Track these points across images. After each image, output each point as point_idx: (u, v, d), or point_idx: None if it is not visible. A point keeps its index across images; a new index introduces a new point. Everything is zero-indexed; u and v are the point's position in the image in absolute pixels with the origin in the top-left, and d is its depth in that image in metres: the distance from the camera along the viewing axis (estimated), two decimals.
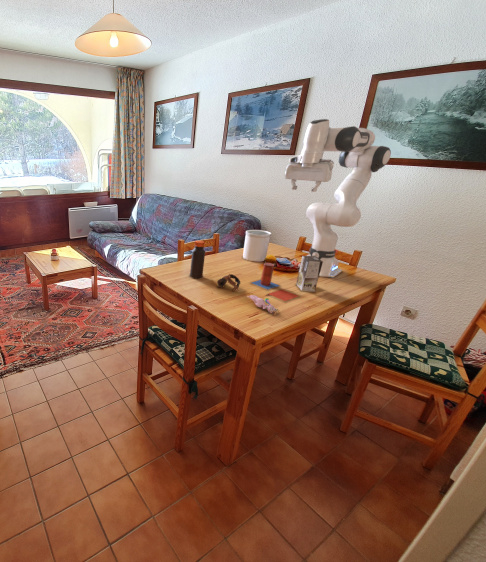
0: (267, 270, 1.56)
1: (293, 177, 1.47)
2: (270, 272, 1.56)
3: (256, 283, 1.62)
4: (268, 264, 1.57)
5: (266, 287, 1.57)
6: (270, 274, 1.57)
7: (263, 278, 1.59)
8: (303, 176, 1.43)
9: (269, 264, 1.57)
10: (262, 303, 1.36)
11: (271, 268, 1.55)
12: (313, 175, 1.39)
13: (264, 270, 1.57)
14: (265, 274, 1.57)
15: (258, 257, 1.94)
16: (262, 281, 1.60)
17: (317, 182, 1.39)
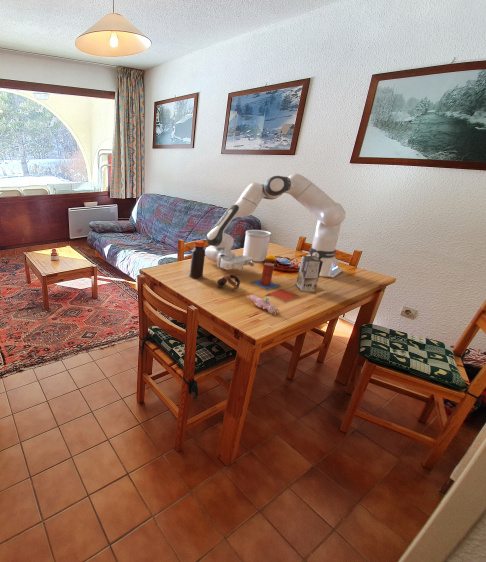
0: (267, 270, 1.56)
1: (233, 261, 1.70)
2: (270, 272, 1.56)
3: (256, 283, 1.62)
4: (268, 264, 1.57)
5: (266, 287, 1.57)
6: (270, 274, 1.57)
7: (263, 278, 1.59)
8: (238, 260, 1.72)
9: (269, 264, 1.57)
10: (262, 303, 1.36)
11: (271, 268, 1.55)
12: (242, 258, 1.75)
13: (264, 270, 1.57)
14: (265, 274, 1.57)
15: (258, 257, 1.94)
16: (262, 281, 1.60)
17: (249, 260, 1.74)
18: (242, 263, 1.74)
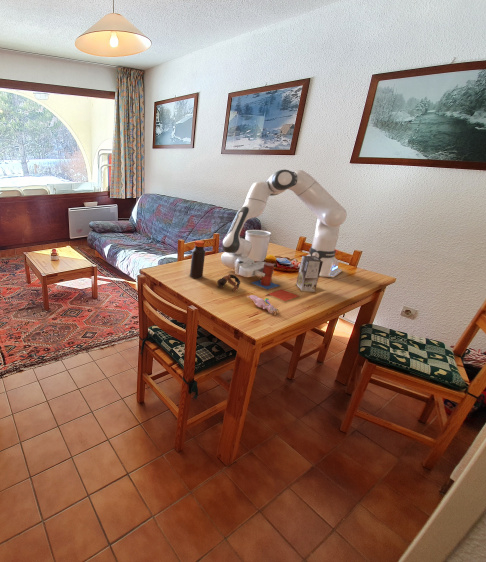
0: (267, 270, 1.56)
1: (253, 269, 1.60)
2: (270, 272, 1.56)
3: (256, 283, 1.62)
4: (268, 264, 1.57)
5: (266, 287, 1.57)
6: (270, 274, 1.57)
7: (263, 278, 1.59)
8: (258, 267, 1.62)
9: (269, 264, 1.57)
10: (262, 303, 1.36)
11: (271, 268, 1.55)
12: (262, 265, 1.65)
13: (264, 270, 1.57)
14: None
15: (258, 257, 1.94)
16: (262, 281, 1.60)
17: None
18: (262, 270, 1.64)
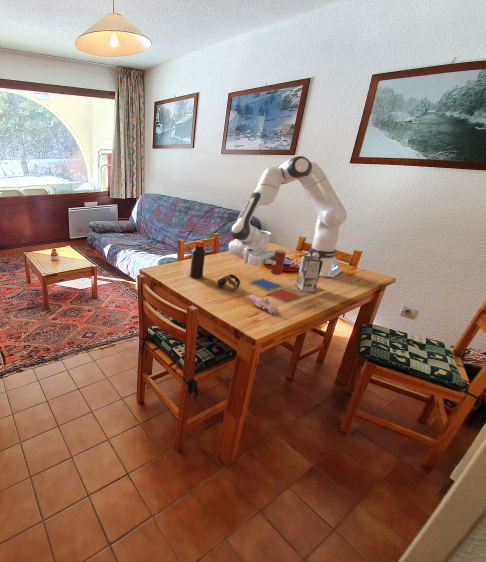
0: (278, 258, 1.48)
1: (263, 257, 1.51)
2: (281, 260, 1.48)
3: (256, 283, 1.62)
4: (279, 251, 1.48)
5: (266, 287, 1.57)
6: (281, 262, 1.48)
7: (274, 266, 1.50)
8: (268, 255, 1.54)
9: (280, 251, 1.48)
10: (262, 303, 1.36)
11: (283, 256, 1.47)
12: (272, 253, 1.56)
13: (275, 258, 1.49)
14: None
15: None
16: (272, 270, 1.51)
17: None
18: (272, 258, 1.55)
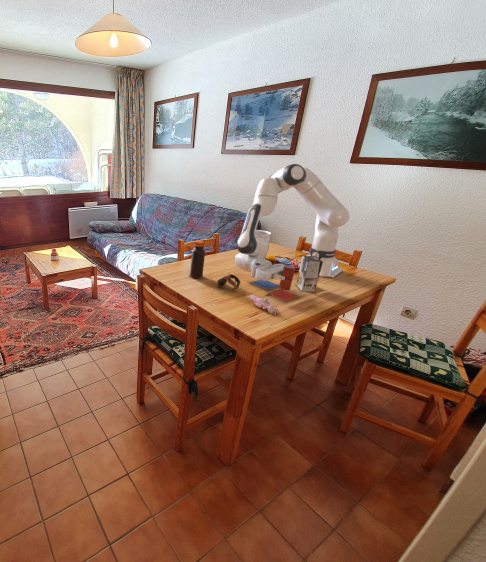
0: (287, 273, 1.43)
1: (271, 271, 1.46)
2: (291, 275, 1.43)
3: (256, 283, 1.62)
4: (288, 266, 1.43)
5: (266, 287, 1.57)
6: (290, 277, 1.43)
7: (283, 282, 1.45)
8: (276, 269, 1.49)
9: (289, 266, 1.43)
10: (262, 303, 1.36)
11: (292, 271, 1.42)
12: (281, 267, 1.51)
13: (284, 273, 1.44)
14: None
15: None
16: (281, 285, 1.46)
17: None
18: (281, 273, 1.50)
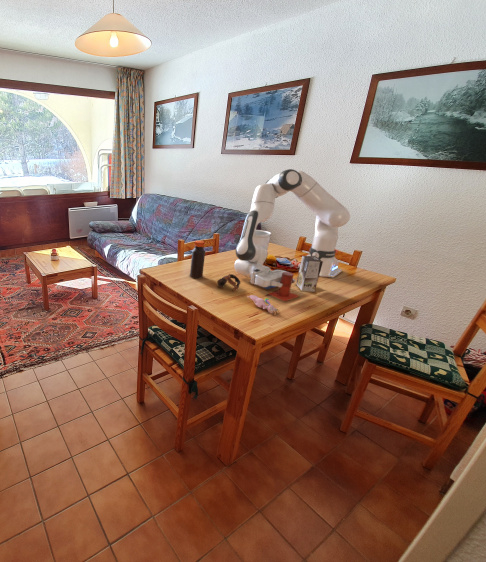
0: (286, 280, 1.44)
1: (271, 278, 1.47)
2: (289, 282, 1.44)
3: None
4: (287, 273, 1.45)
5: (266, 287, 1.57)
6: (289, 284, 1.45)
7: (281, 288, 1.47)
8: (276, 276, 1.50)
9: (288, 273, 1.45)
10: (262, 303, 1.36)
11: (290, 278, 1.43)
12: (280, 273, 1.53)
13: (282, 280, 1.45)
14: (283, 284, 1.45)
15: None
16: (279, 292, 1.48)
17: None
18: (280, 279, 1.51)
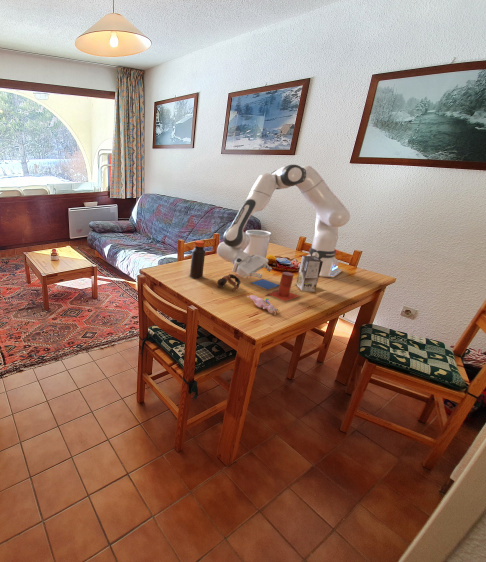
0: (286, 280, 1.44)
1: (251, 269, 1.59)
2: (289, 282, 1.44)
3: (256, 283, 1.62)
4: (287, 273, 1.45)
5: (266, 287, 1.57)
6: (289, 284, 1.45)
7: (281, 288, 1.47)
8: (255, 265, 1.61)
9: (288, 273, 1.45)
10: (262, 303, 1.36)
11: (290, 278, 1.43)
12: (259, 261, 1.64)
13: (282, 280, 1.45)
14: (283, 284, 1.45)
15: None
16: (279, 292, 1.48)
17: (265, 264, 1.64)
18: (258, 267, 1.64)
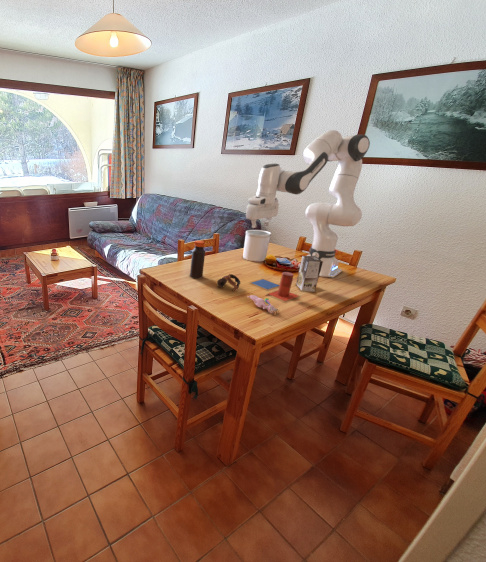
0: (286, 280, 1.44)
1: (258, 217, 1.51)
2: (289, 282, 1.44)
3: (256, 283, 1.62)
4: (287, 273, 1.45)
5: (266, 287, 1.57)
6: (289, 284, 1.45)
7: (281, 288, 1.47)
8: (264, 215, 1.53)
9: (288, 273, 1.45)
10: (262, 303, 1.36)
11: (290, 278, 1.43)
12: (270, 212, 1.55)
13: (282, 280, 1.45)
14: (283, 284, 1.45)
15: (258, 257, 1.94)
16: (279, 292, 1.48)
17: (270, 217, 1.58)
18: None
